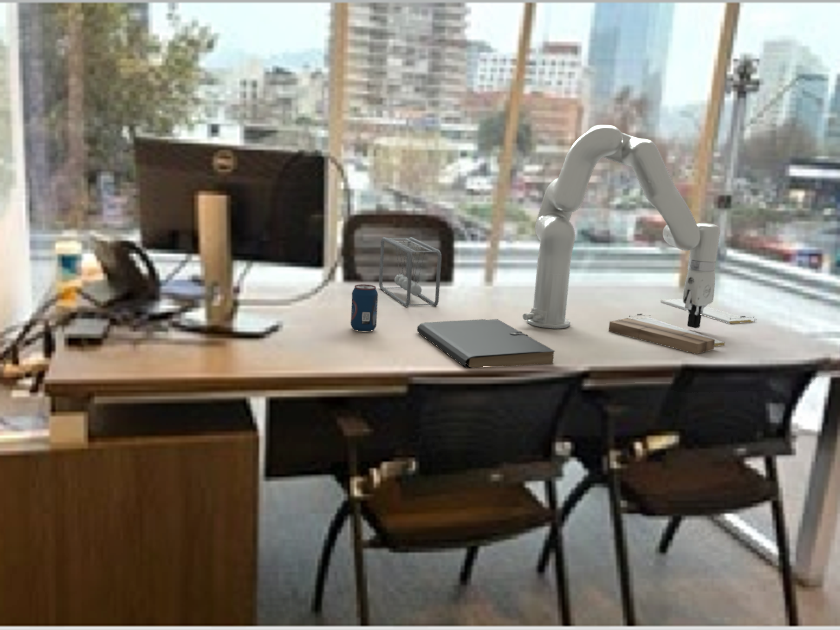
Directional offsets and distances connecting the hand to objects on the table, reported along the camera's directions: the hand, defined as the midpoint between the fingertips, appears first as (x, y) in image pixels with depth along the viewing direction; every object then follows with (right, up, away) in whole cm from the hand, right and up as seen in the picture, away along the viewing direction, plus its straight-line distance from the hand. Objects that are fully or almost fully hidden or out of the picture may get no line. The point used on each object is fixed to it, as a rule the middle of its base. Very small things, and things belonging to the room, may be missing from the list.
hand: (693, 326), depth 252 cm
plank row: (-14, -3, -13) cm, 20 cm away
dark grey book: (-65, -6, -32) cm, 73 cm away
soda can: (-96, -1, -21) cm, 99 cm away
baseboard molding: (+13, +4, +28) cm, 31 cm away
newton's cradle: (-85, +9, +23) cm, 89 cm away
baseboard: (-8, -2, -4) cm, 9 cm away
